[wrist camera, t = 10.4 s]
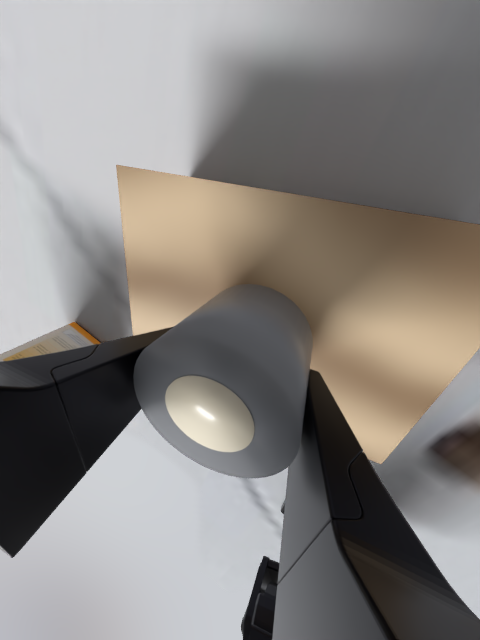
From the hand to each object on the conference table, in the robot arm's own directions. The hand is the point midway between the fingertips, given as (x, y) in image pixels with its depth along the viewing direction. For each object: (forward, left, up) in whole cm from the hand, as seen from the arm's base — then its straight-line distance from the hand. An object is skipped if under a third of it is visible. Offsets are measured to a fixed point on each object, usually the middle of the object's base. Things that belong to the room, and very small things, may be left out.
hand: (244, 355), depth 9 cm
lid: (0, 0, -3) cm, 3 cm away
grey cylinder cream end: (0, 0, -1) cm, 1 cm away
